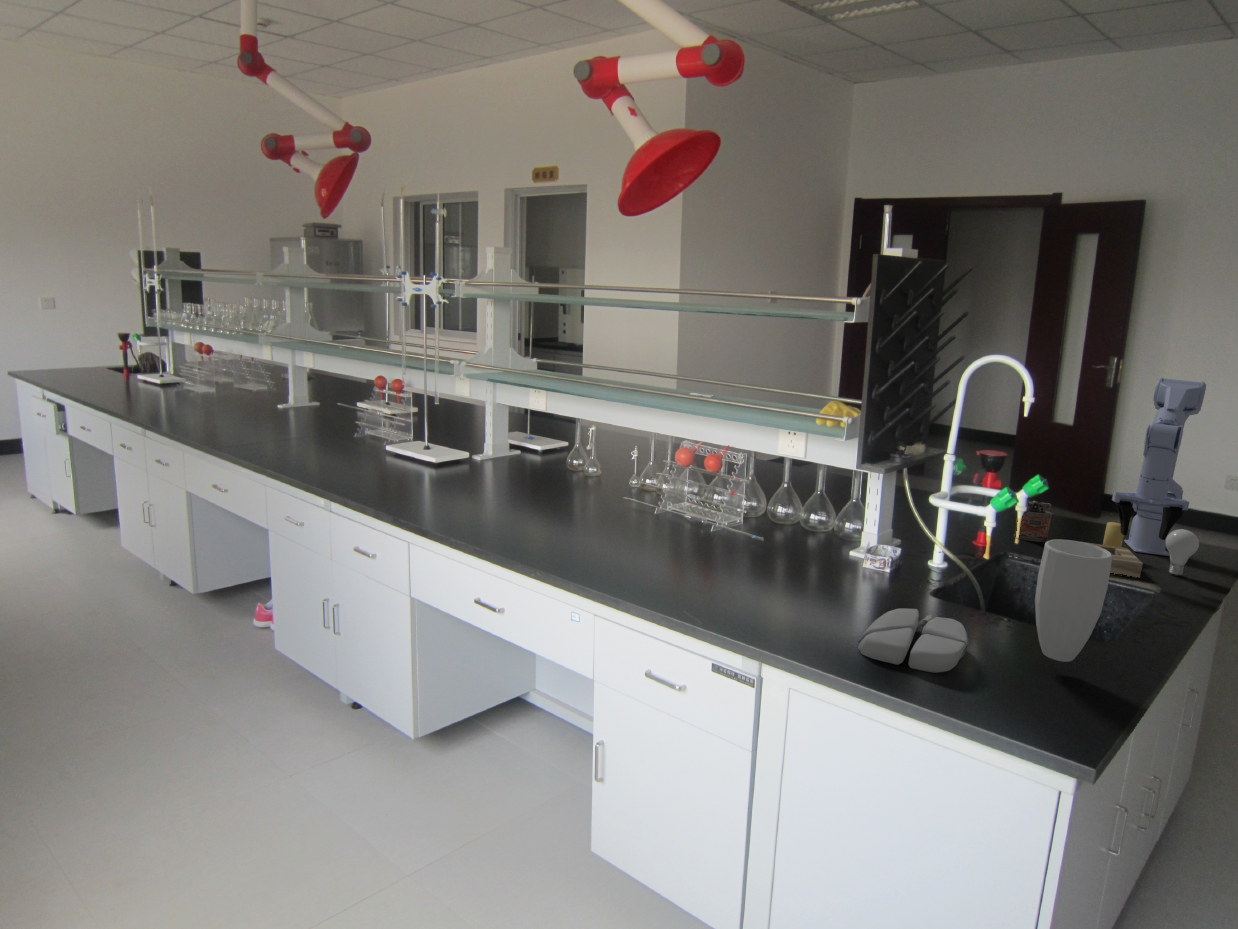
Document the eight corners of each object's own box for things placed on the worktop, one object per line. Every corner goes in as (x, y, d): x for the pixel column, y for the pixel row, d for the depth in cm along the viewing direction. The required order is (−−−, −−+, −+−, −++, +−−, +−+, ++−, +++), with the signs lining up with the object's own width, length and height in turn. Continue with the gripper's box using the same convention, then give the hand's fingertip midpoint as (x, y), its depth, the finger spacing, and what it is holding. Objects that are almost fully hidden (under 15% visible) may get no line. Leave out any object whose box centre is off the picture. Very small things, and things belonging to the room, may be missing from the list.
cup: (1030, 651, 144) (1051, 534, 139) (1096, 672, 137) (1121, 550, 133) (1012, 670, 136) (1034, 546, 132) (1081, 693, 130) (1107, 564, 125)
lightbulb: (1185, 572, 193) (1195, 528, 190) (1195, 581, 187) (1206, 535, 184) (1154, 568, 195) (1164, 524, 192) (1164, 577, 189) (1174, 531, 186)
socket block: (1069, 554, 202) (1071, 540, 201) (1124, 561, 199) (1126, 547, 198) (1081, 569, 190) (1084, 555, 190) (1139, 577, 187) (1142, 563, 186)
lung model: (849, 656, 138) (879, 620, 160) (958, 687, 130) (974, 645, 152) (856, 618, 137) (885, 588, 159) (965, 647, 129) (981, 611, 151)
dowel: (1098, 552, 205) (1105, 521, 203) (1116, 554, 204) (1123, 523, 202) (1103, 556, 201) (1109, 525, 200) (1121, 559, 200) (1128, 527, 199)
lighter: (1015, 538, 212) (1021, 501, 210) (1012, 535, 215) (1018, 498, 213) (1049, 542, 210) (1055, 505, 208) (1045, 539, 214) (1052, 502, 211)
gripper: (1123, 477, 180) (1112, 536, 183) (1199, 485, 176) (1185, 546, 179) (1114, 471, 187) (1103, 528, 190) (1186, 478, 183) (1174, 536, 186)
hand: (1142, 536), depth 185 cm, fingers open, 7 cm apart
